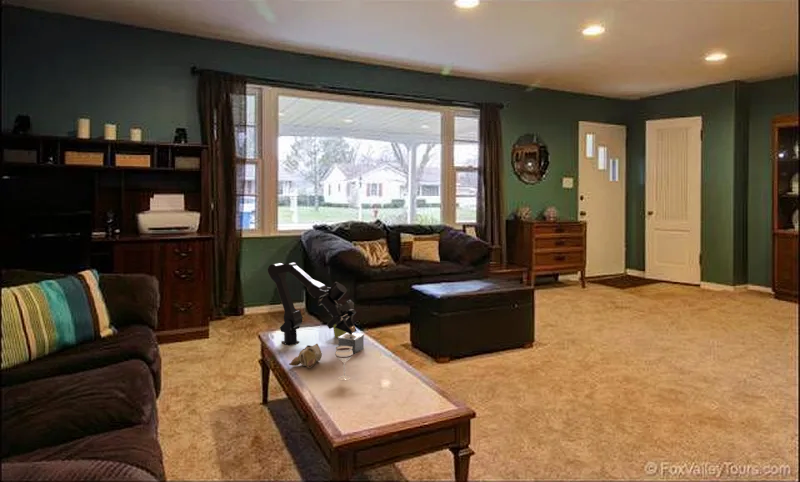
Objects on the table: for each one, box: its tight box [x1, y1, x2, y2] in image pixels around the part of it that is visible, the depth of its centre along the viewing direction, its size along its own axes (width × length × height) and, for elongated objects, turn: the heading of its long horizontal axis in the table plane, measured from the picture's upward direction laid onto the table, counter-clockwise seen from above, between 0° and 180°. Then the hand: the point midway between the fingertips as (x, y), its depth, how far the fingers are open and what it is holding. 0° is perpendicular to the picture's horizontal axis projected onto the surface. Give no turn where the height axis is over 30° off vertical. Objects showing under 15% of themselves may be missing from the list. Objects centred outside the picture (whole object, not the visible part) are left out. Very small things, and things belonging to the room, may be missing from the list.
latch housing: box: [337, 332, 365, 355], centre depth 234 cm, size 9×11×7 cm
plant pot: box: [332, 323, 347, 339], centre depth 255 cm, size 9×9×9 cm
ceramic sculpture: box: [288, 343, 323, 369], centre depth 213 cm, size 11×9×15 cm
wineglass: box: [335, 345, 354, 381], centre depth 198 cm, size 7×7×12 cm
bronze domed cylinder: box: [349, 326, 356, 336], centre depth 232 cm, size 4×4×9 cm
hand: (353, 332), depth 232 cm, fingers closed on bronze domed cylinder, 4 cm apart
